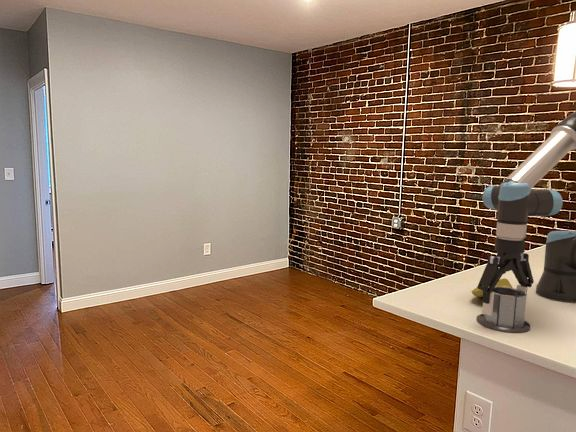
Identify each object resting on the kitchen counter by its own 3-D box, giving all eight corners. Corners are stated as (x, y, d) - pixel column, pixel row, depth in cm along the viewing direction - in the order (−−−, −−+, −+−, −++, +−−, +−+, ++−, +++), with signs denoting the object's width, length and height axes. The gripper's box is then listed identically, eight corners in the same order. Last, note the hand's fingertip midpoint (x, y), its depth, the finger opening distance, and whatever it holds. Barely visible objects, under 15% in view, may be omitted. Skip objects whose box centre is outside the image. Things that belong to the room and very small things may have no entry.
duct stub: (511, 314, 133) (512, 296, 133) (541, 332, 119) (543, 313, 119) (467, 315, 132) (468, 297, 131) (493, 333, 118) (494, 314, 117)
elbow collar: (530, 325, 123) (533, 294, 122) (506, 330, 119) (509, 298, 118) (499, 313, 132) (502, 284, 131) (476, 318, 128) (478, 288, 127)
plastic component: (481, 284, 158) (510, 276, 152) (489, 304, 156) (518, 297, 151) (467, 293, 141) (498, 285, 136) (475, 315, 140) (508, 308, 135)
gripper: (527, 233, 131) (521, 301, 134) (467, 238, 120) (461, 312, 123) (551, 237, 124) (544, 309, 127) (490, 243, 114) (483, 321, 117)
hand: (503, 311), depth 125 cm, fingers open, 13 cm apart
